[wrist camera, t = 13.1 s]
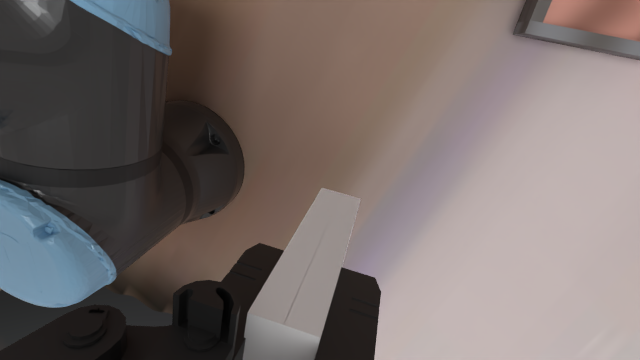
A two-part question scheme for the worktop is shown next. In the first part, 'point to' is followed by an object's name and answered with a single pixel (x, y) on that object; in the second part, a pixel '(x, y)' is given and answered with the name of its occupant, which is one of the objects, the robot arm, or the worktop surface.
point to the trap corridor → (584, 24)
